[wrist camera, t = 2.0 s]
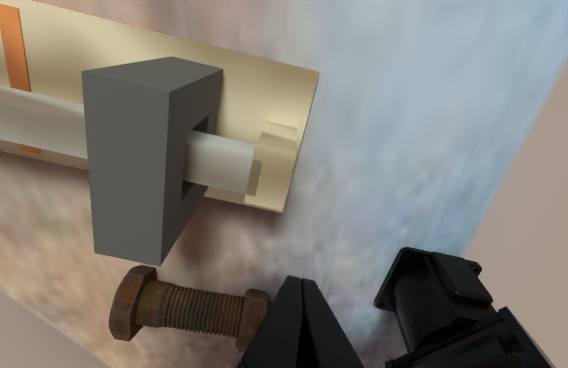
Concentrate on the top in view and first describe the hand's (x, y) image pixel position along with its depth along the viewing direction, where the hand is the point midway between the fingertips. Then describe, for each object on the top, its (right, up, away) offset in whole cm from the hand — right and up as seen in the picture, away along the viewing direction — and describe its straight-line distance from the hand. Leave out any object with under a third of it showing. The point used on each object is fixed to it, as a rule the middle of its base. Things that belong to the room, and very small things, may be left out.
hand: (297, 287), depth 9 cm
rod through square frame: (-12, +9, +11) cm, 18 cm away
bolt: (-6, -7, +18) cm, 20 cm away
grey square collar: (-6, +7, +11) cm, 14 cm away
